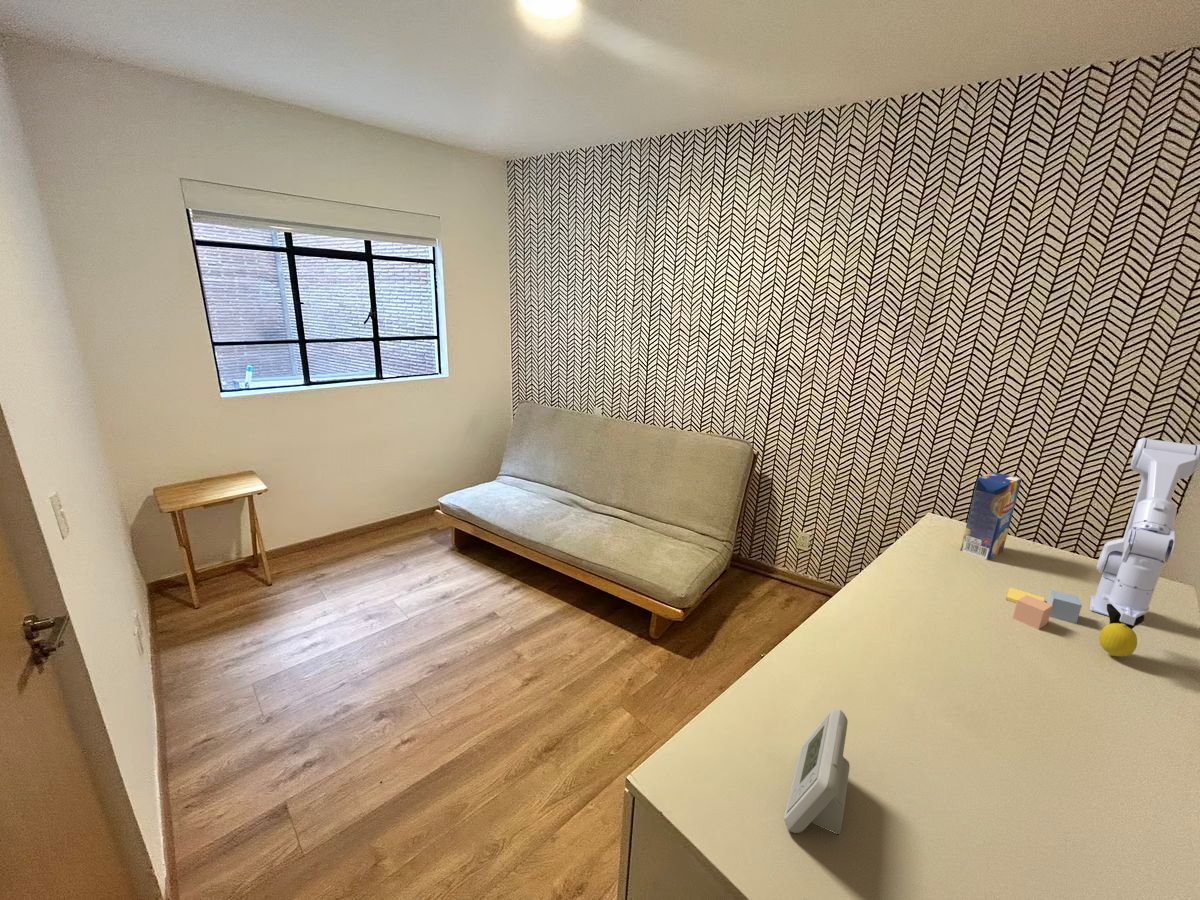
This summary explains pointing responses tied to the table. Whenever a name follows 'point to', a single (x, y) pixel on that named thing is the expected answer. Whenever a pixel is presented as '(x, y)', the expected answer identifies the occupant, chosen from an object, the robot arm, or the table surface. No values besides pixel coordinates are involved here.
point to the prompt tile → (1020, 595)
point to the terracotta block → (1032, 611)
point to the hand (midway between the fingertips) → (1115, 639)
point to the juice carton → (990, 515)
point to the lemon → (1118, 639)
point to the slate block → (1064, 606)
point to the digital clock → (820, 778)
